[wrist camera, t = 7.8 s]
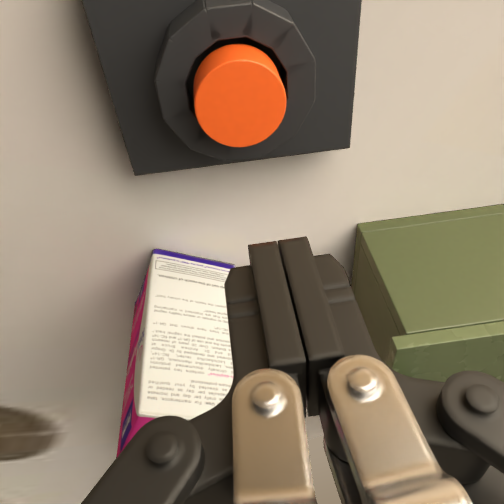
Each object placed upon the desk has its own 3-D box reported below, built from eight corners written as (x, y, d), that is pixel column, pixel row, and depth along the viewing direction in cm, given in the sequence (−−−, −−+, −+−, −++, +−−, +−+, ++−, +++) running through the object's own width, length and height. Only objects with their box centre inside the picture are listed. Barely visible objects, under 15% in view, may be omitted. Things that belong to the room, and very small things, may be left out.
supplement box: (149, 245, 29) (138, 414, 21) (236, 263, 31) (257, 423, 23) (130, 303, 33) (113, 468, 24) (209, 316, 35) (219, 472, 26)
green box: (343, 352, 40) (375, 454, 34) (357, 223, 30) (406, 333, 23) (497, 330, 40) (557, 426, 34) (562, 195, 30) (665, 296, 24)
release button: (200, 132, 20) (201, 153, 19) (186, 48, 18) (186, 66, 16) (281, 122, 20) (288, 142, 19) (278, 37, 18) (285, 54, 17)
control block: (137, 153, 25) (131, 197, 22) (81, -42, 18) (63, -17, 16) (338, 127, 25) (360, 167, 22) (351, -73, 19) (382, -54, 16)
